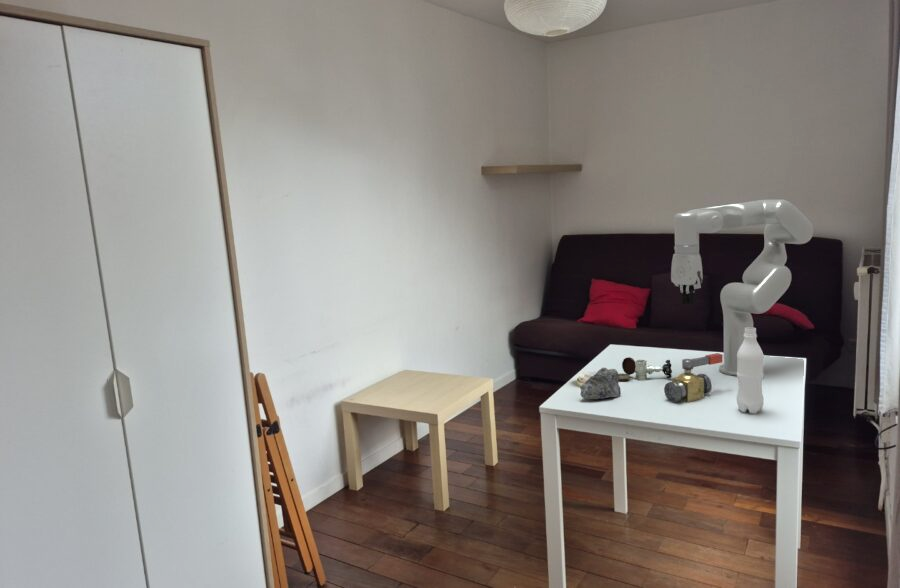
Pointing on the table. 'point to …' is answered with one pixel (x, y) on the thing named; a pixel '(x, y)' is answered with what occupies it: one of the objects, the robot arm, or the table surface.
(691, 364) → the valve lever
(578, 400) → the table surface
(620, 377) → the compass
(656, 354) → the table surface
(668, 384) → the pipe valve
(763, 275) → the robot arm
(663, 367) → the valve
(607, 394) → the mineral rock
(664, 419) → the table surface
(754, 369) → the water bottle
